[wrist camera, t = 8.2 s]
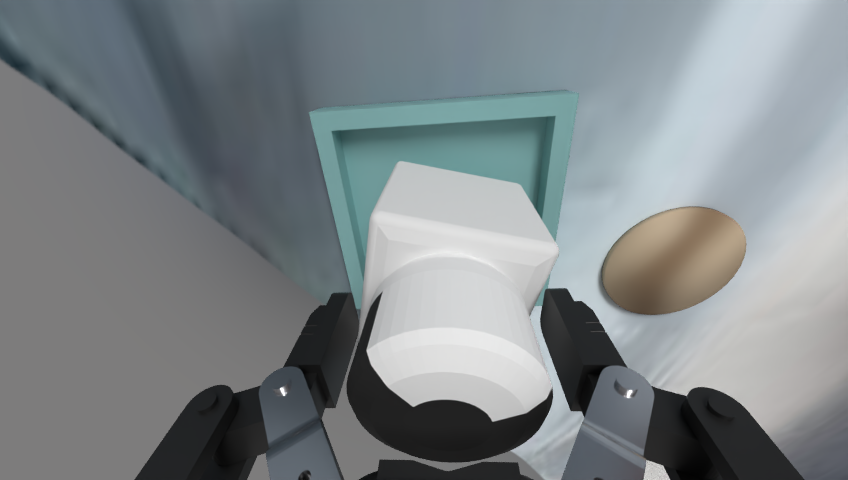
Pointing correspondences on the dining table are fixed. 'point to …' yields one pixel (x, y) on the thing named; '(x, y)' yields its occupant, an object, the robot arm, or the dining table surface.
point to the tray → (442, 154)
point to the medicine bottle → (451, 317)
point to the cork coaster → (673, 260)
